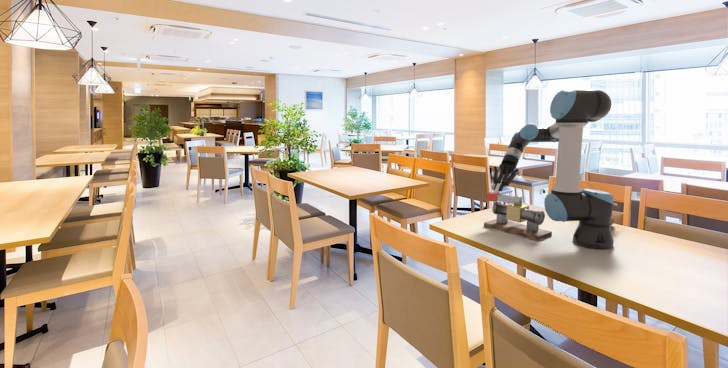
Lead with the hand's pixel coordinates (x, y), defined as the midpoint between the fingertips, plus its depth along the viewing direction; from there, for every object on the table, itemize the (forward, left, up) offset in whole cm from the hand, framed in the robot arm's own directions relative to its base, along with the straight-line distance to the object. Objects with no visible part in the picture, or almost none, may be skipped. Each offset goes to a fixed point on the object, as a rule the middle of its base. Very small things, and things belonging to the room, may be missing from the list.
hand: (495, 195), depth 193 cm
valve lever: (-6, +1, -2) cm, 7 cm away
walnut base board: (-13, 0, -15) cm, 20 cm away
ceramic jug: (-31, -40, -15) cm, 53 cm away
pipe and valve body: (-13, 0, -13) cm, 18 cm away
